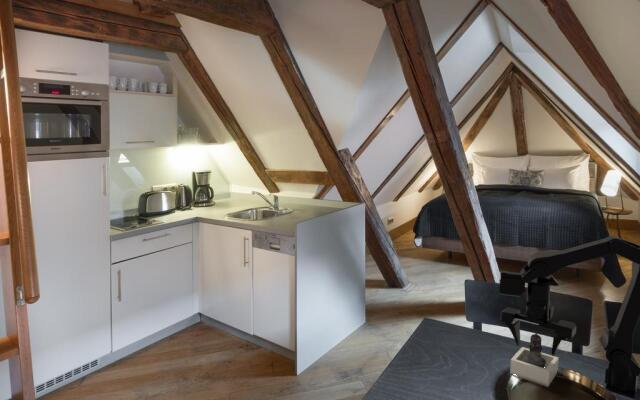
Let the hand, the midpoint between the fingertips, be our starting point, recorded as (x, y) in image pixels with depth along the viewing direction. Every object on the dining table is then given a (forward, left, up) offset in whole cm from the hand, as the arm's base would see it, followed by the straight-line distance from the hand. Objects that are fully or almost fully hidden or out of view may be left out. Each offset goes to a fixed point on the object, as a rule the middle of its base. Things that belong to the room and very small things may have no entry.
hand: (535, 350), depth 123 cm
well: (0, 0, -7) cm, 7 cm away
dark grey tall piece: (0, 0, -7) cm, 7 cm away
